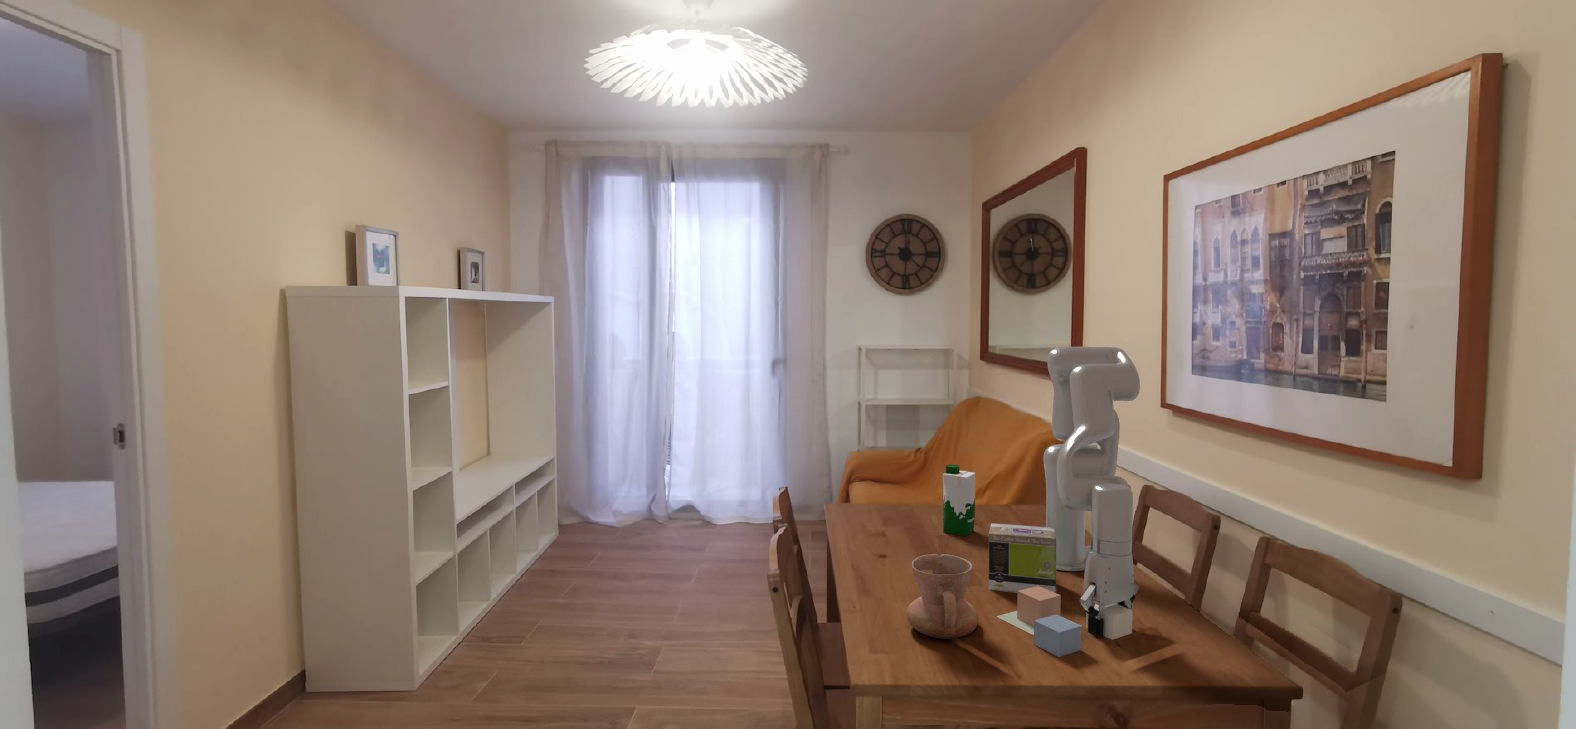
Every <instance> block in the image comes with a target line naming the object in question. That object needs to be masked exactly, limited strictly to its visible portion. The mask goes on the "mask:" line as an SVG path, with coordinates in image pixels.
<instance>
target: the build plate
mask: <svg viewBox="0 0 1576 729" xmlns="http://www.w3.org/2000/svg"><path fill="white" fill-rule="evenodd" d="M995 617H996V618H998V619H1000V620H1002V621H1004V622H1005V623H1008V624H1010V625H1012V626H1014V627H1016V628H1018V629H1020V630H1022V631H1024V632H1026V633H1028V634H1030V635H1032V636H1034V627H1033V626H1031V625H1029V624H1027V623H1025V622H1023V621H1021V620H1019V619H1017V610H1014V611H1011V612H1007V613H1003V614H1000V615H997V616H995ZM1064 618H1065V617H1064ZM1065 619H1067V618H1065ZM1067 620H1069V621H1071V620H1070V619H1067ZM1075 623H1076V622H1075ZM1076 624H1078V623H1076ZM1078 625H1080V626H1081V628H1082V627H1083V626H1082V625H1081V624H1078Z"/></svg>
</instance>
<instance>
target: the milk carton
mask: <svg viewBox="0 0 1576 729" xmlns="http://www.w3.org/2000/svg"><path fill="white" fill-rule="evenodd" d="M942 486H943V487H942V489H943V490H942V491H943V492H942V493H943V496H942V497H943V504H942V505H943V506H942V508H943V509H942V510H943V511H942V516H943V518H942V524H943V525H942V527H943V529H942V530H943V531H942V532H943V533H945V534H950V535H956V536H963V537H967V536H968V535H970V534H971V533H973V531H974V530H975V519H976V472H974V471H973V472H972V471H967V470H960V465H958V464H946V465H945V472H943V473H942Z"/></svg>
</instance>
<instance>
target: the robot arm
mask: <svg viewBox="0 0 1576 729" xmlns="http://www.w3.org/2000/svg"><path fill="white" fill-rule="evenodd" d="M1047 371H1048V373H1049V377H1050V379H1051V382H1052V386H1053V400H1052V401H1053V402H1052V417H1051V431H1052V435H1053V437H1054V438H1055V439H1056V440H1058V441H1060V442H1063V443H1057V444H1052V445H1050V446H1048V447H1047V448H1046V449H1045V451H1044V452H1043V460H1042V461H1043V469H1044V475H1045V484H1046V485H1045V488H1046V493H1045V494H1046V496H1045V497H1046V502H1045V503H1046V504H1045V505H1046V506H1045V507H1046V509H1045V511H1046V512H1045V514H1046V515H1045V518H1046V519H1045V527H1052V528H1055V537H1056V571H1058V570H1059V571H1063V572H1064V571H1066V572H1081V571H1084V574H1083V590H1082V595H1081V597H1080V599H1079V603H1080V605H1081V606H1082V608H1083V610H1084V612H1085V615H1086V616H1087V615H1088V629H1087V632H1088V634H1091V635H1093V636H1096V637H1098V638H1100V639H1103V638H1104V636H1103V630H1104V619H1102V618H1101V617H1102V614H1103V612H1104V609H1105V606H1108V605H1111V604H1118V605H1120V606H1123V607H1125V608H1128V609H1130V610H1133V607H1134V606H1133V602H1135V599H1136V595H1137V594H1138V591H1139V588H1140V587H1139V585H1137V583H1135V570H1134V569H1135V568H1134V561H1133V553H1132V552H1133V551H1132V550H1133V515H1134V513H1133V510H1134V494H1133V490H1132V487H1131V485H1130V484H1129V483H1128V481H1127V480H1126V479H1125V478H1123V477H1121V476H1115V475H1116V472H1117V471H1116V470H1117V465H1118V462H1117V461H1118V454H1119V453H1118V452H1119V444H1120V442H1119V441H1120V431H1121V429H1120V427H1121V425H1120V419H1119V414H1118V412H1117V411H1116V410H1115V409H1114V402H1129V401H1131V402H1132V401H1134V400H1136V399H1137V398H1138V396H1139V394H1140V390H1141V380H1140V376H1139V372H1138V370H1137V368H1136V365H1135V363H1134V362H1133V361H1132V359H1131V358H1130V357H1129V356H1128V354H1127V352H1126V351H1125V350H1123V349H1122V348H1120V347H1117V346H1116V347H1113V346H1061V347H1056V348H1053V349H1052V350H1050V352H1049V353H1048V355H1047ZM1086 512H1091V516H1090V517H1091V519H1090V520H1091V521H1090V545H1085V544H1086V542H1085V541H1086V540H1085V539H1086V538H1085V537H1086V536H1085V534H1086ZM1097 599H1098V600H1099V601H1097ZM1095 604H1096V605H1099V607H1098V610H1097V611H1096V609H1095V608H1094V606H1095Z"/></svg>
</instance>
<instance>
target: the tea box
mask: <svg viewBox="0 0 1576 729" xmlns="http://www.w3.org/2000/svg"><path fill="white" fill-rule="evenodd" d="M1035 586H1040V587H1042V588H1045V589H1047V590H1049V591H1052V592H1054V593H1057V569H1056V537H1055V528H1052V527H1046V526H1036V525H1021V524H1010V523H1009V524H1007V523H994V522H993V523H992V522H991V523H990V527H989V530H988V590H990V591H999V592H1007V593H1013V594H1014V593H1016V594H1018V591H1019V590H1023V589H1027V588H1031V587H1035Z"/></svg>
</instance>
